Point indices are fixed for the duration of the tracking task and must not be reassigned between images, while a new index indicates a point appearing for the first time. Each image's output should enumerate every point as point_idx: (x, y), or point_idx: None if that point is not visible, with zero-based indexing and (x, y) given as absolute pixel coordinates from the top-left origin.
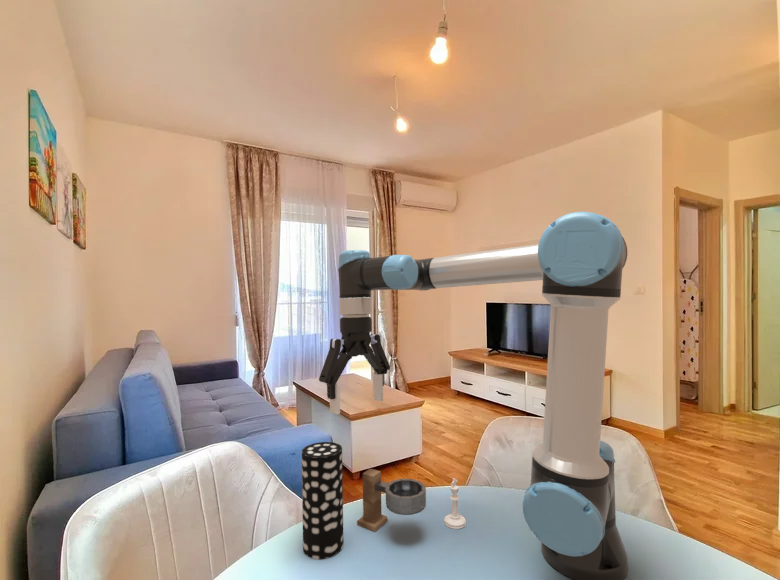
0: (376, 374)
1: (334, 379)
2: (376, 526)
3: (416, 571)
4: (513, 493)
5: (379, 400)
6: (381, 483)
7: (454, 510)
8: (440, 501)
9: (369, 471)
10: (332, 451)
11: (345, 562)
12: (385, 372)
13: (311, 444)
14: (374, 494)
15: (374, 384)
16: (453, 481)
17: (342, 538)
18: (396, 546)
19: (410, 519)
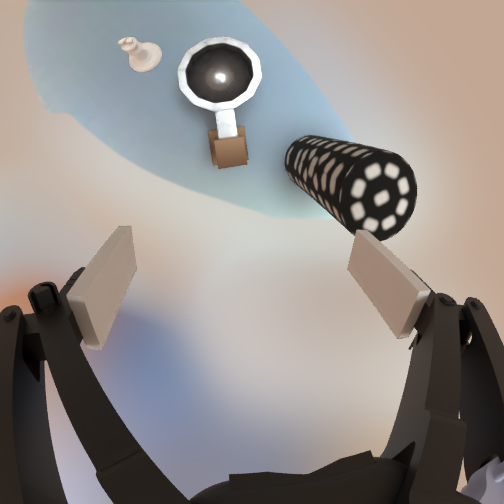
0: (93, 325)
1: (452, 307)
2: (239, 126)
3: (272, 37)
4: (37, 63)
5: (131, 236)
6: (226, 128)
7: (144, 50)
8: (109, 110)
9: (230, 159)
10: (379, 168)
11: (316, 115)
12: (46, 287)
13: None
14: (237, 135)
15: (115, 301)
16: (127, 41)
17: (302, 139)
18: None
19: (181, 107)
